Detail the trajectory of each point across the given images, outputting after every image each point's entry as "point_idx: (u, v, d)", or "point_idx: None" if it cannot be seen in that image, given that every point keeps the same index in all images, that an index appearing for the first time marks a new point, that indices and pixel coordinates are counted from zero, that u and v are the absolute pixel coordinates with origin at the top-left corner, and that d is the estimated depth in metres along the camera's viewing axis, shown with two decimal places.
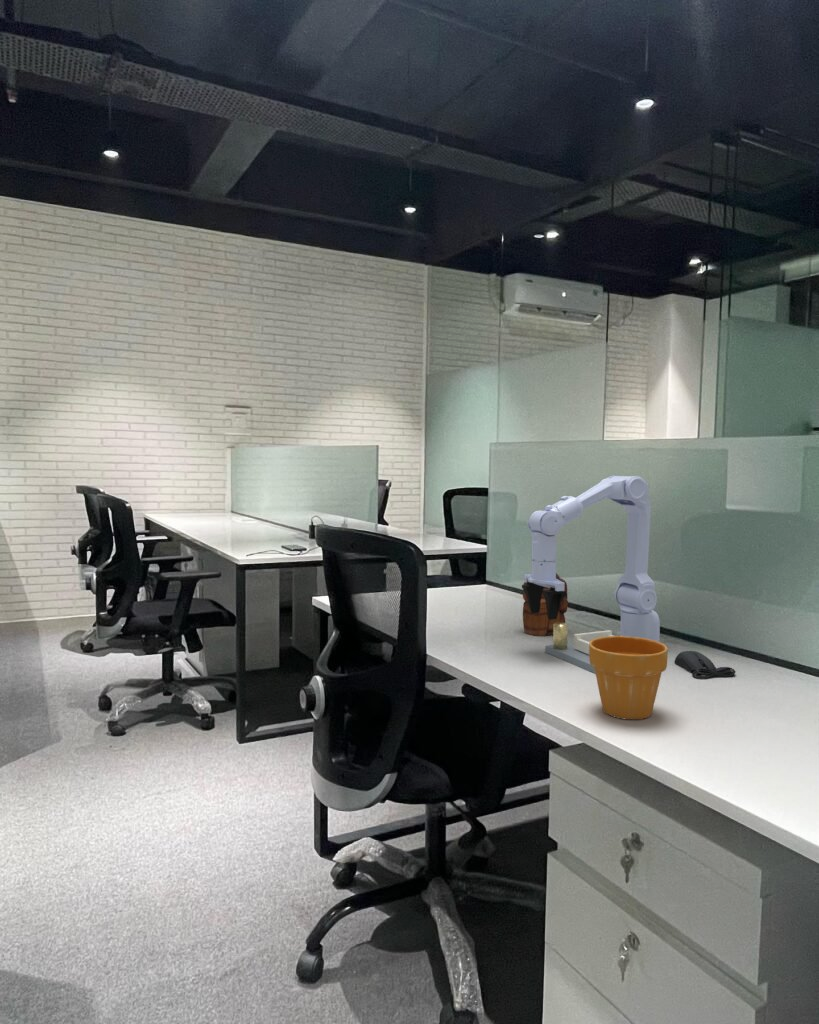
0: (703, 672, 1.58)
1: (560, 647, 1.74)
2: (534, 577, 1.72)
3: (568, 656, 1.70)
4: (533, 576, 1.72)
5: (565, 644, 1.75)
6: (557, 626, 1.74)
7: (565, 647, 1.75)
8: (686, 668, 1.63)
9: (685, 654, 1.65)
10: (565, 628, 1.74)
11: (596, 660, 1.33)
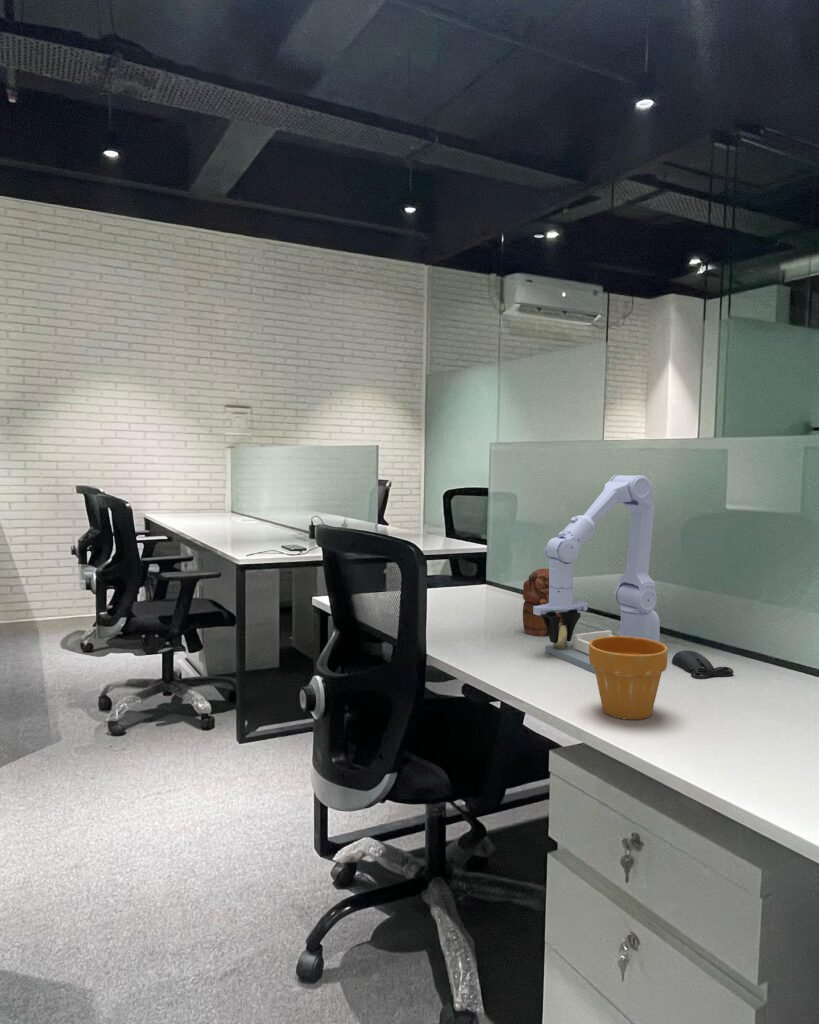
0: (702, 672, 1.58)
1: (560, 647, 1.74)
2: None
3: (568, 656, 1.70)
4: None
5: (565, 644, 1.75)
6: None
7: (565, 647, 1.75)
8: (684, 668, 1.63)
9: (683, 653, 1.65)
10: (565, 628, 1.74)
11: (596, 660, 1.33)
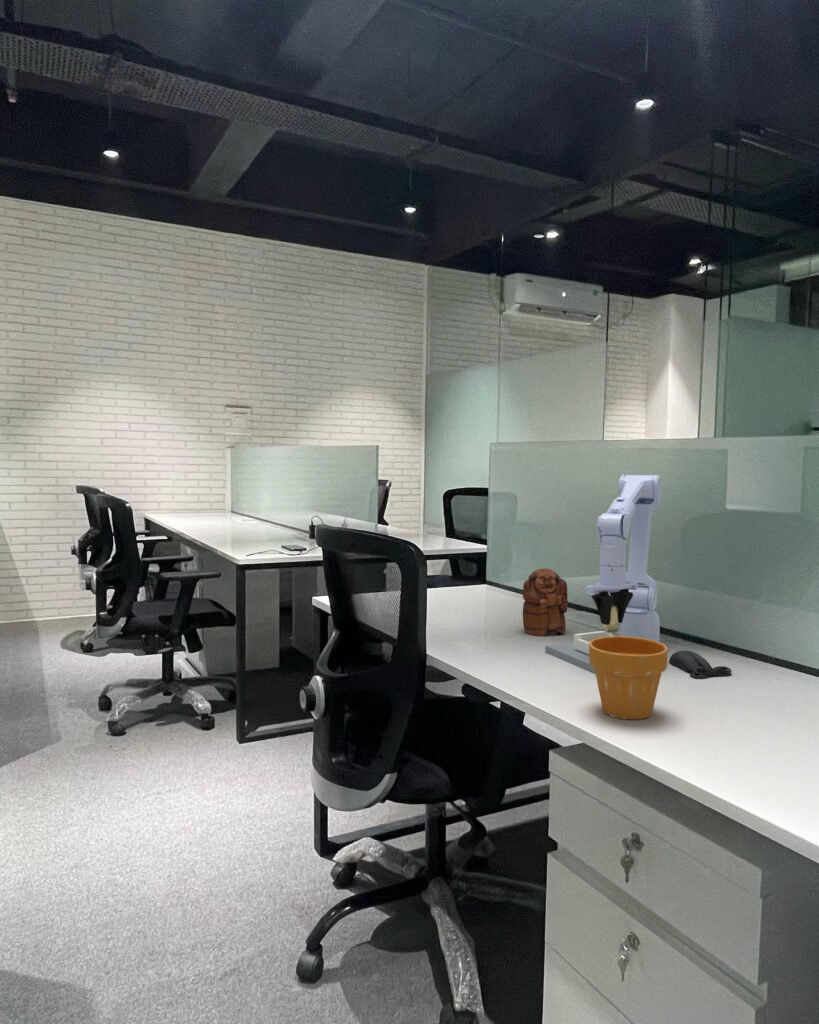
0: (700, 672, 1.58)
1: (612, 629, 1.65)
2: None
3: (568, 656, 1.70)
4: None
5: (617, 626, 1.66)
6: None
7: (617, 629, 1.66)
8: (682, 668, 1.63)
9: (680, 653, 1.65)
10: (617, 609, 1.65)
11: (596, 660, 1.33)
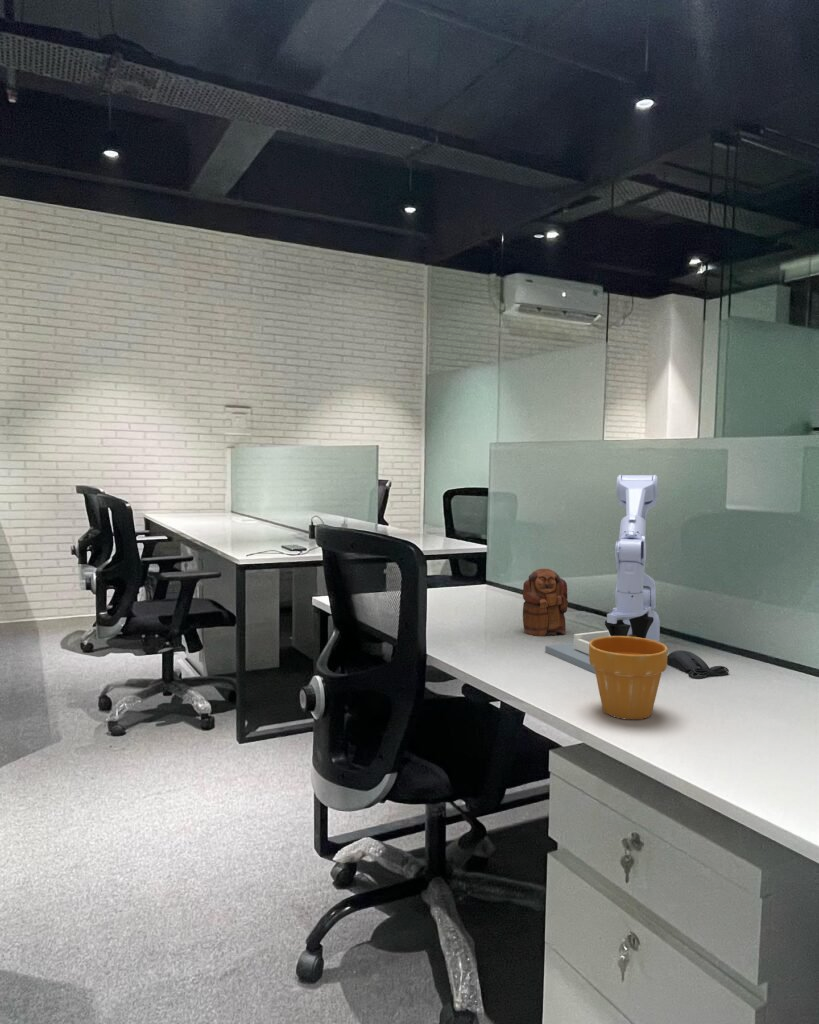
0: (699, 672, 1.58)
1: None
2: None
3: (568, 656, 1.70)
4: None
5: None
6: None
7: None
8: (680, 668, 1.63)
9: (677, 653, 1.65)
10: None
11: (596, 660, 1.33)
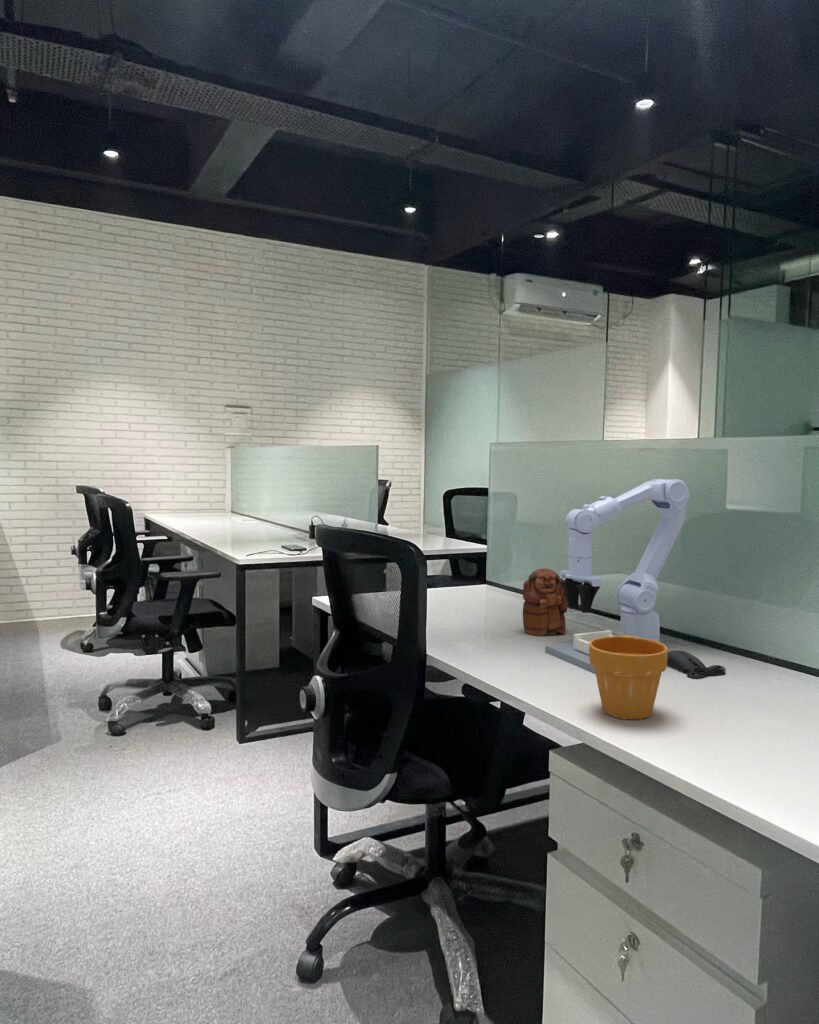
0: (697, 671, 1.58)
1: None
2: (571, 573, 1.79)
3: (568, 656, 1.70)
4: (570, 572, 1.79)
5: None
6: None
7: None
8: (677, 668, 1.62)
9: (674, 653, 1.65)
10: None
11: (596, 660, 1.32)
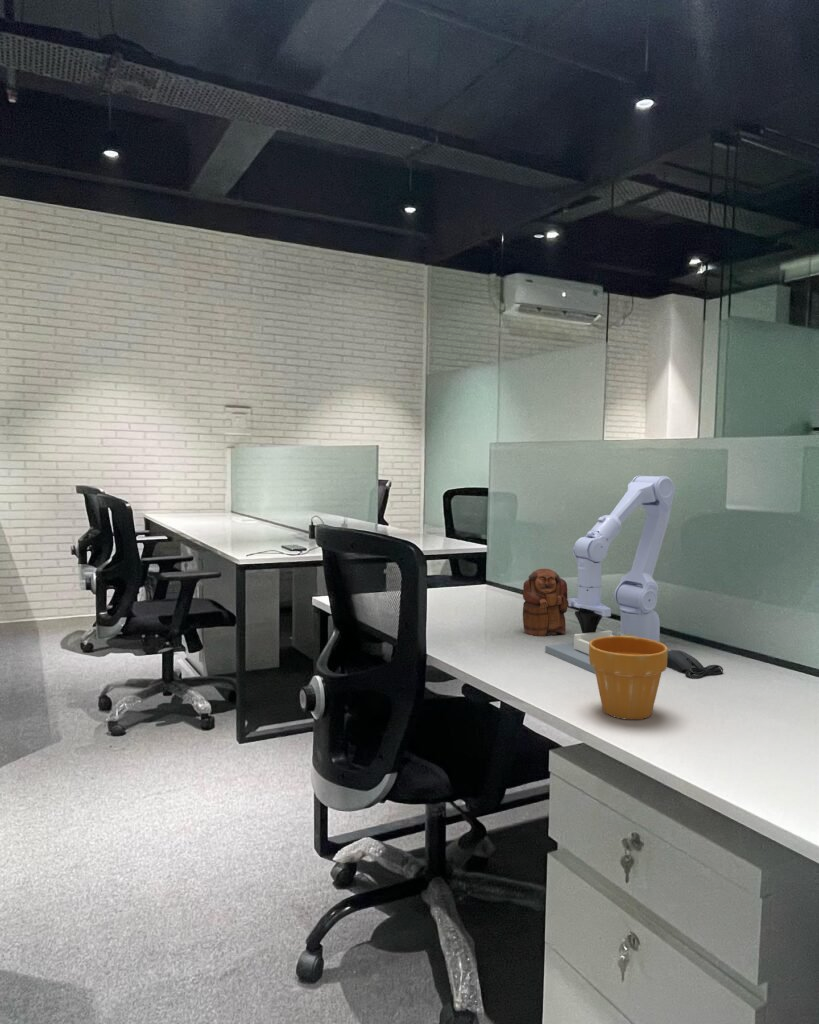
0: (695, 671, 1.58)
1: None
2: (580, 602, 1.76)
3: (568, 656, 1.70)
4: (579, 601, 1.76)
5: None
6: None
7: None
8: (675, 668, 1.63)
9: (671, 653, 1.65)
10: None
11: (596, 660, 1.33)
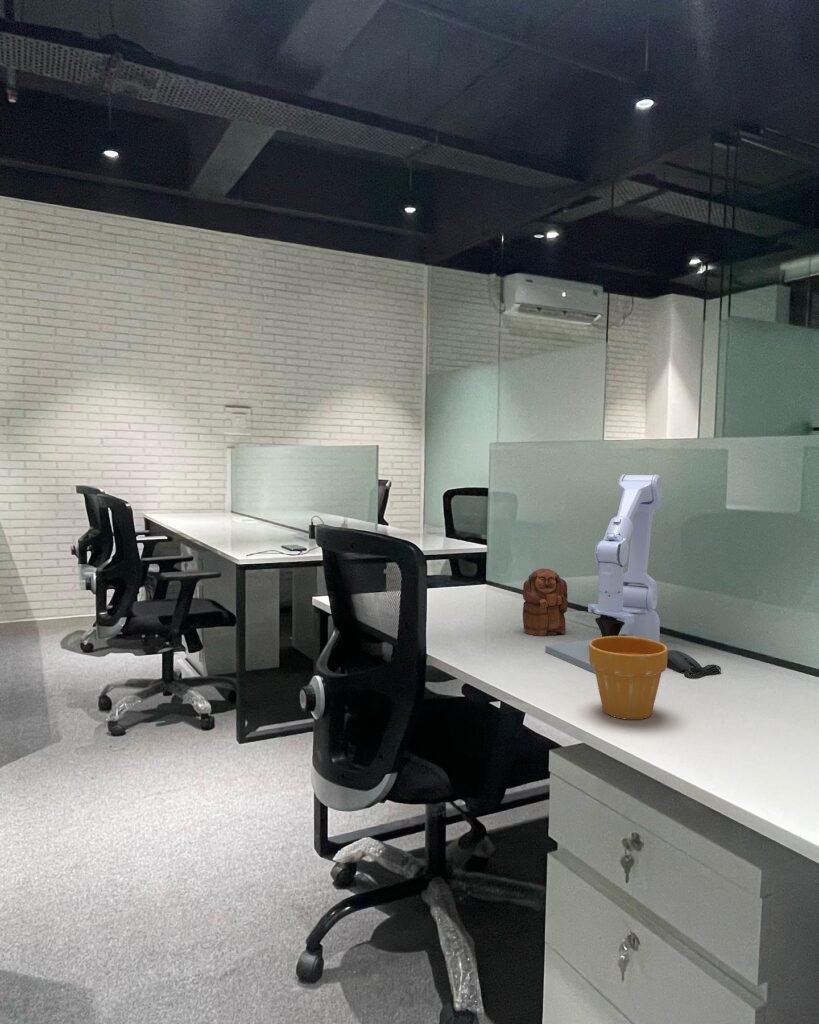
0: (694, 671, 1.58)
1: None
2: (601, 608, 1.68)
3: (568, 656, 1.70)
4: (600, 607, 1.69)
5: None
6: None
7: None
8: (673, 668, 1.63)
9: (669, 653, 1.65)
10: None
11: (596, 660, 1.33)
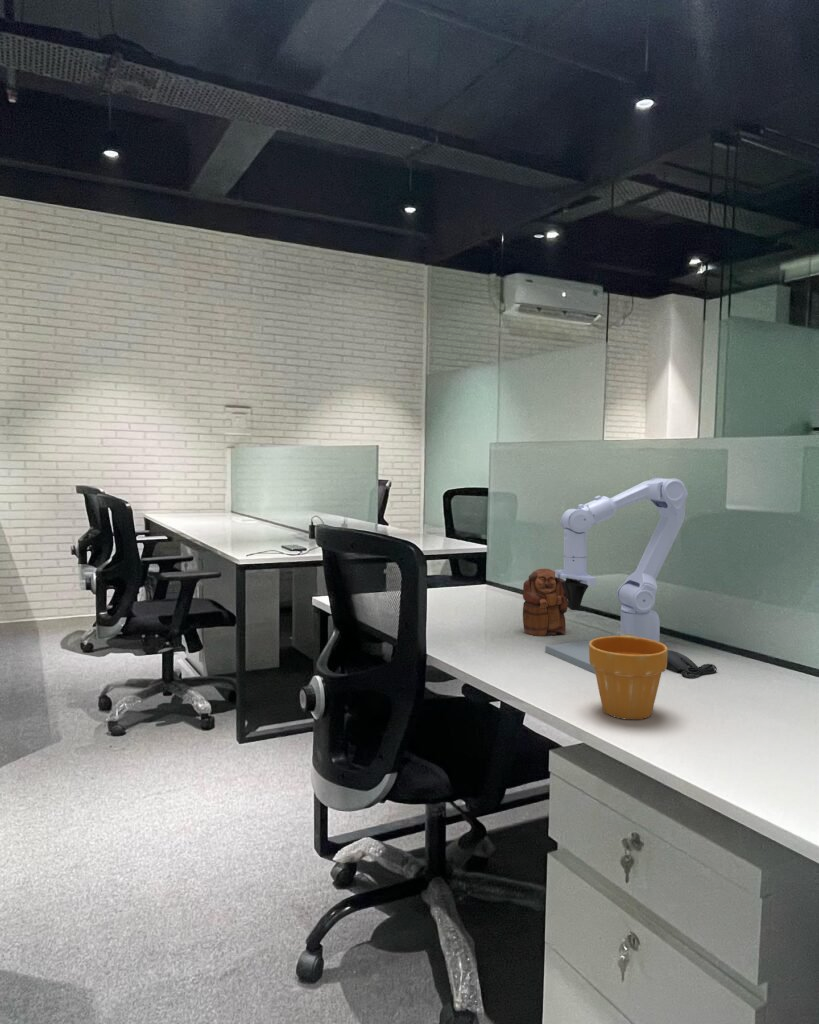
0: (691, 671, 1.58)
1: None
2: (566, 572, 1.80)
3: (568, 656, 1.70)
4: (565, 571, 1.80)
5: None
6: None
7: None
8: (670, 668, 1.62)
9: None
10: None
11: (596, 660, 1.33)
